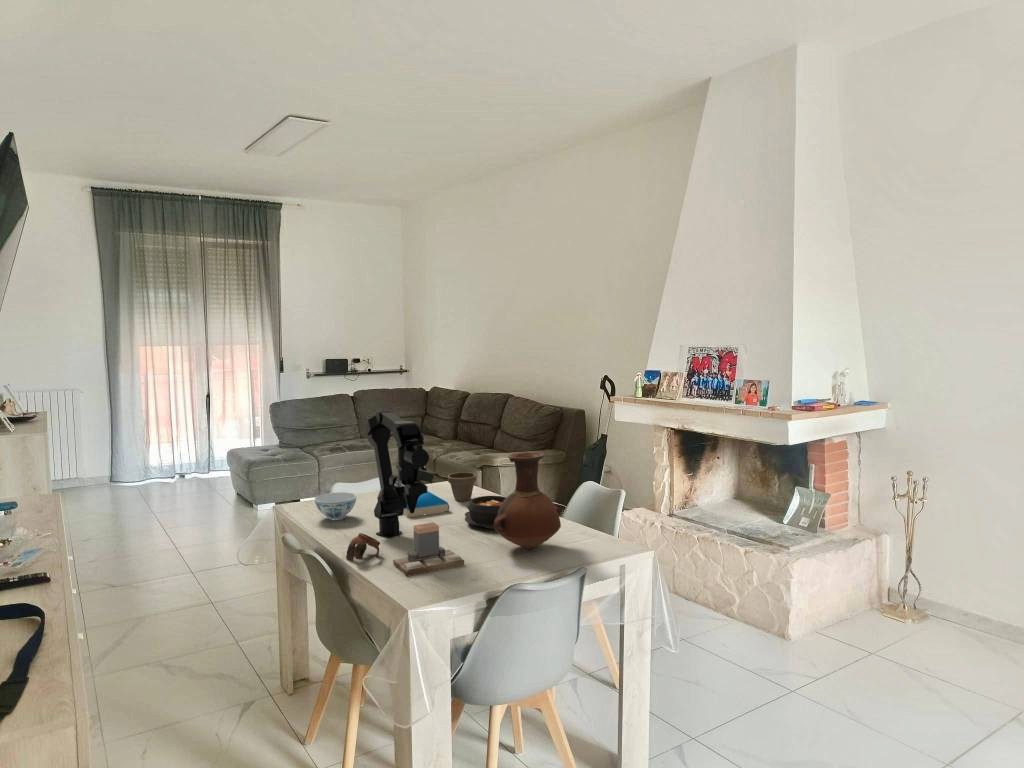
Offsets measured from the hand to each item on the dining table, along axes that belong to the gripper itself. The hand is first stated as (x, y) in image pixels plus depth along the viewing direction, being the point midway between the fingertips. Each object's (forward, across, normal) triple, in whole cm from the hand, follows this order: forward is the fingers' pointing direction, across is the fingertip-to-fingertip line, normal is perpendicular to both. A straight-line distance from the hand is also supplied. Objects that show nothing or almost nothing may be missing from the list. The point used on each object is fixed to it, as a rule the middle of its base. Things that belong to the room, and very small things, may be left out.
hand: (408, 510), depth 222 cm
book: (+13, +45, -20) cm, 51 cm away
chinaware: (+12, +46, +11) cm, 49 cm away
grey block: (+10, -17, +1) cm, 19 cm away
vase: (+12, -20, -32) cm, 40 cm away
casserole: (+12, +10, -35) cm, 38 cm away
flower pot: (+12, +46, -40) cm, 62 cm away
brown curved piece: (+12, -2, +16) cm, 20 cm away
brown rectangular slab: (+12, -18, +1) cm, 22 cm away
